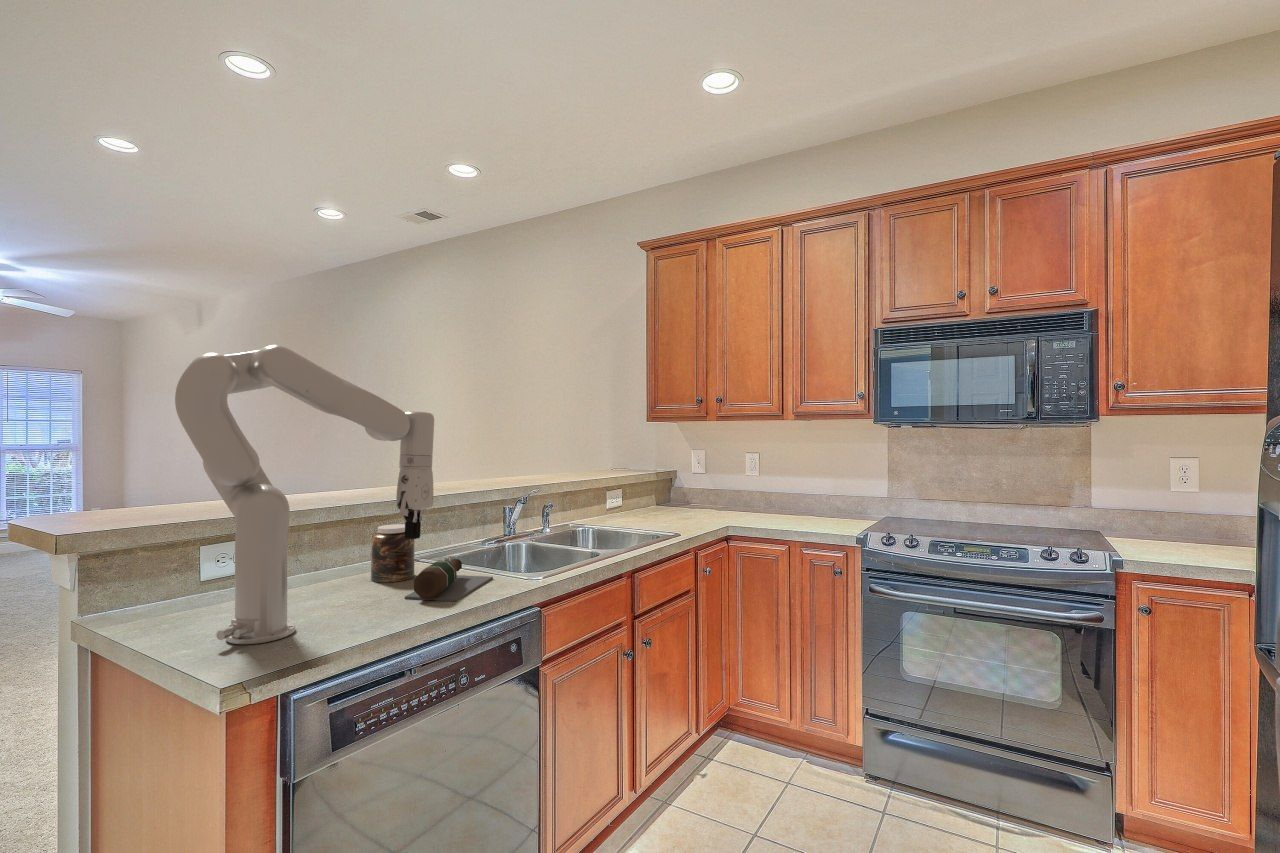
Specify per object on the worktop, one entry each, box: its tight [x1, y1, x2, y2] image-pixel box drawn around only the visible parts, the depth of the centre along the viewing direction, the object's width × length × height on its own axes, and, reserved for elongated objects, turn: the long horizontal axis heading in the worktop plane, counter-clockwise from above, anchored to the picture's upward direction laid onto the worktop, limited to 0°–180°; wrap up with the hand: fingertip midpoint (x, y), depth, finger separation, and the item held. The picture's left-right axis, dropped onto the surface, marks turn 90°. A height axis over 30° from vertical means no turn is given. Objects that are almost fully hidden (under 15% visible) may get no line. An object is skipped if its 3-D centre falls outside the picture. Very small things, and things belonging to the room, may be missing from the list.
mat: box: [404, 574, 494, 602], centre depth 172 cm, size 24×14×1 cm, turn 171°
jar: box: [370, 523, 415, 584], centre depth 183 cm, size 12×12×15 cm
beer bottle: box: [413, 558, 463, 599], centre depth 171 cm, size 8×8×24 cm
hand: (412, 538), depth 153 cm, fingers closed
